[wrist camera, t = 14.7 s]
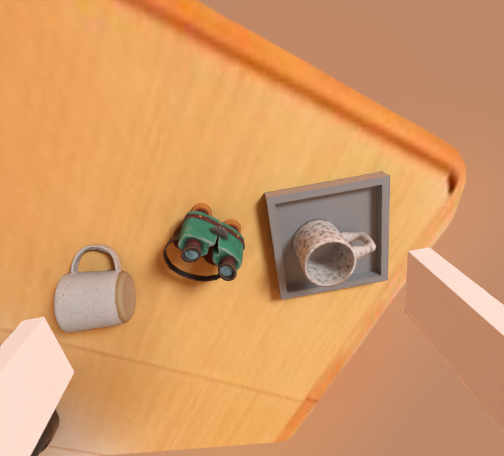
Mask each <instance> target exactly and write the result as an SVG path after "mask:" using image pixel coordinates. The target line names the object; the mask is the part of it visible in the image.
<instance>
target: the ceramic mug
mask: <svg viewBox="0 0 504 456" xmlns="http://www.w3.org/2000/svg"><path fill="white" fill-rule="evenodd" d="M88 250H100V251H102V252H106V253H109V254H110V255H111V257H112V258H113V261H114V265H115V270H109V271H99V272H78V265H79V261H80V258H81V256H82V255H83V254H84V252H86V251H88ZM120 268H121V267H120V261H119V258H118V256H117V254H116V252H115V251H114V250H113V249H111V248H110V247H107V246H105V245H90V246H86V247H84V248H82V249H81V250H80V251H79V252H78V253H77V254H76V256H75V257H74V260H73V262H72V266H71V273H68V274H65V275H64V276H63V277H62V278H61V279H60V281H59V283H58V285H57V288H56V291H55V297H54V311H55V317H56V321H57V323H58V325H59V327H60V328H61V329H62V330H63V331H64V332H67V333H72V332H77V331H83V330H90V329H96V328H102V327H110V326H116V325H119V324H123V323H126V322H128V321H129V320H130V319H131V317H132V316H133V313H134V309H135V287H134V283H133V280H132V277H131V276H130V275H129V274H128V273H127V272H124V271H121V270H120Z"/></svg>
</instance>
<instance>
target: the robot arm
mask: <svg viewBox="0 0 504 456" xmlns="http://www.w3.org/2000/svg"><path fill="white" fill-rule="evenodd" d="M405 313H406V314H407V315H408V317H409V318H410V319H411V320H412V321H413V323H414V324H415V325H416V326H417V328H418V329H419V330H420V331H421V332H422V334H423V335H424V336H425V337H426V339H427V340H428V341H429V342H430V344H431V345H432V346H433V347H434V349H435V350H436V351H437V352H438V354H439V355H440V356H441V357H442V359H443V360H444V361H445V362H446V363H447V365H448V366H449V367H450V368H451V370H452V371H453V372H454V373H455V374H456V376H457V377H458V378H459V380H460V381H461V382H462V383H463V385H465V387H466V388H467V389H468V391H469V392H470V393H471V394H472V396H473V397H474V398H475V399H476V401H477V402H478V403H479V404H480V406H481V407H482V408H483V409H484V411H486V413H487V414H488V415H489V417H490V418H491V419H492V420H493V422H494V423H495V424H496V425H497V427H498V428H499V429H500V430H501V432H502V433H503V434H504V305H503V304H501V303H500V302H499V301H498V300H496V299H495V298H494V297H492V296H491V295H490V294H489V293H487V292H486V291H485V290H483V289H482V288H481V287H480V286H478V285H477V284H476V283H474V282H473V281H471V279H469V278H468V277H467V276H465V275H464V274H463V273H462V272H460V271H459V270H457V269H456V268H455V267H454V266H453V265H451V264H450V263H449V262H447V261H446V260H445V259H443V258H442V257H441V256H439V255H438V254H437V253H436V252H434V251H433V250H432V249H431V248H423V249H418V250H412V251H408V264H407V282H406V301H405ZM73 374H74V371H73V369H72V367H71V365H70V363H69V361H68V360H67V358H66V356H65V354H64V352H63V350H62V349H61V347H60V345H59V343H58V341H57V340H56V338H55V336H54V334H53V332H52V330H51V329H50V327H49V325H48V323H47V321H46V319H45V318H44V317H41V318H35V319H30V320H24V321H22V322H21V323H20V324H19V326H18V327H17V328H16V329H15V330H14V331H13V332H12V334H11V335H10V336H9V337H8V338H7V339H6V341H5V342H4V343H3V344H2V345H1V346H0V456H38V455H39V454H40V453H41V452H42V451H43V450H44V449H45V448H46V447H47V446H48V445H49V444H50V442H51V441H52V439H53V437H54V435H55V433H56V431H57V428H58V425H59V418H58V414H57V412H56V410H55V408H56V406H57V404H58V403H59V401H60V399H61V397H62V395H63V393H64V391H65V389H66V387H67V385H68V384H69V382H70V380H71V378H72V376H73Z"/></svg>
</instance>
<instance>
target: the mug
mask: <svg viewBox="0 0 504 456" xmlns="http://www.w3.org/2000/svg"><path fill="white" fill-rule="evenodd" d="M356 240H361V241H363V242H364V243H365V244H366V245H354V246H350V244H349V243H350V242H352V241H356ZM293 248H294V251H295V253H296V255H297V257H298V260H299V262H300V264H301V267H302V269H303V271H304V274H305V276H306V277H307V279H308V280H309V281H310V282H311V283H313V284H315V285H317V286H321V287H331V286H335V285H338V284H340V283H342V282H344V281H345V280H346V279H348V278H349V277H350V276H351V274H352V273H353V271H354V269H355V266H356V260H357V259H360V258H361V257H363V256H365V255H367V254H369V253H371V252H373V251H374V250H375V248H376V245H375V243H374V242H373V240H372V239H371V238H370V237H369V236H368V235H367V234H365V233H364V232H339V231H338V229H337V228H336V227H335V226H334V225H333V224H332V223H331V222H329V221H327V220H324V219H313V220H310V221H307V222H305V223H304V224H302V225H301V226H300V227H299V228H298V229H297V231H296V232H295V234H294V237H293Z"/></svg>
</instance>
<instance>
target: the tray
mask: <svg viewBox="0 0 504 456" xmlns="http://www.w3.org/2000/svg"><path fill="white" fill-rule="evenodd" d="M264 194H265V201H266V207H267V214H268V220H269V227H270V234H271V240H272V247H273V253H274V260H275V267H276V273H277V280H278V286H279V292H280V296H281V299H288V298H293V297H299V296H304V295H309V294H315V293H320V292H326V291H331V290H337V289H342V288H348V287H353V286H359V285H364V284H369V283H375V282H380V281H386V280H388V249H389V203H390V175H388V174H386V173H384V172H377V173H372V174H366V175H361V176H355V177H349V178H344V179H338V180H333V181H327V182H322V183H316V184H311V185H305V186H300V187H294V188H289V189H283V190H277V191H272V192H266V193H264ZM313 219H324V220H327V221H329V222H331V223H332V224H333V225H334V226H335V227H336V228H337V229H338V231H339V232H364V233H365V234H367V235H368V236H369V237H370V238H371V239H372V240H373V242H374V243H375V245H376V248H375V250H374V251H373V252H371V253H369V254H367V255H365V256H363V257H361V258H360V259H357V260H356V266H355V269H354V271H353V273H352V274H351V276H350V277H349V278H348V279H346V280H345V281H344V282H342V283H340V284H338V285H335V286H331V287H321V286H317V285H315V284H313V283H311V282H310V281H309V280H308V279H307V277H306V276H305V274H304V271H303V269H302V267H301V264H300V262H299V260H298V257H297V255H296V253H295V251H294V248H293V237H294V234H295V232H296V231H297V229H298V228H299V227H300V226H301V225H302V224H304V223H305V222H307V221H310V220H313ZM349 244H350V246H354V245H366V244H365V243H364V242H363V241H361V240H356V241H352V242H350V243H349Z"/></svg>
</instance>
